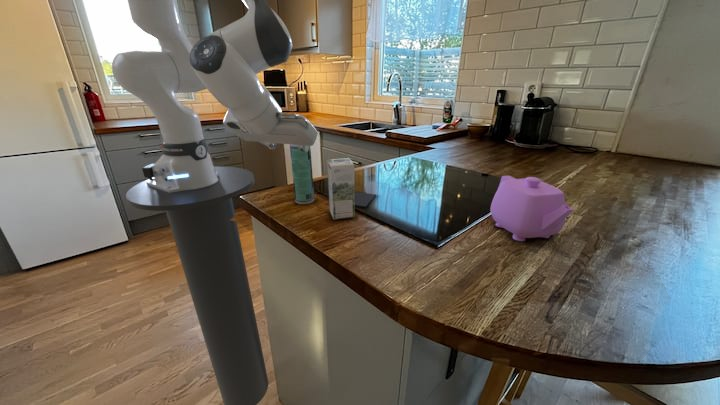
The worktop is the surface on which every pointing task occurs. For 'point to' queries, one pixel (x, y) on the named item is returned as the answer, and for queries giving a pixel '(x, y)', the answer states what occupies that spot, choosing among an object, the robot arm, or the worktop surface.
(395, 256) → the worktop surface
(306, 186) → the spray can
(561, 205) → the teapot
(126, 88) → the robot arm
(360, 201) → the coaster
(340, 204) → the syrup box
